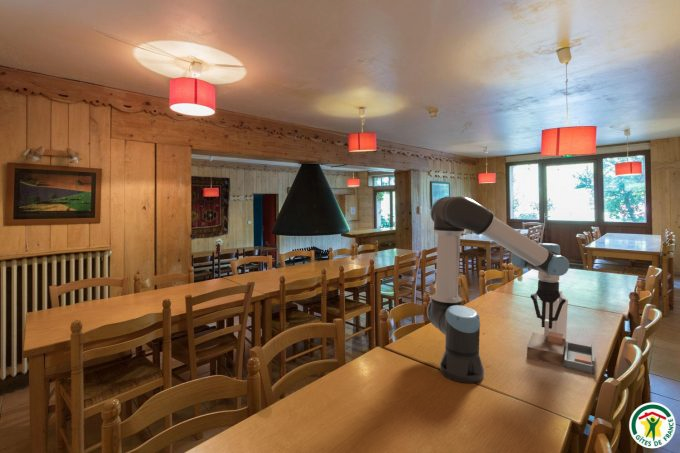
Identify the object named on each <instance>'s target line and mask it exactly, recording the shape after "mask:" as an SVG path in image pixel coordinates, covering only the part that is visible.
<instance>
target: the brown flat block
mask: <svg viewBox="0 0 680 453" xmlns="http://www.w3.org/2000/svg"><path fill="white" fill-rule="evenodd" d="M565 351H566V341H565V339H564V338H563V342H562V344H560V343H555V342H550V341H548V337H547V336H544V333H543V334H542V333H538V332H532V334H531V335H530V339H529V341H528V344H527V346H526V359H532V360H535V361H540V362H544V363H549V364H552V365H557V366H562V367H564V359H565Z"/></svg>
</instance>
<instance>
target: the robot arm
mask: <svg viewBox="0 0 680 453" xmlns="http://www.w3.org/2000/svg"><path fill="white" fill-rule="evenodd" d="M429 214H430V215H429V216H430V218H431V220H432V222H433V230H434V232H435V233H436V234H437V242H436V244H437V246H436V269H435V270H436V271H435V272H436V274H435V292H434V293H433V294H432V295H431V301H430V302H429V303H428V305H427V308H426V315H427V318H428V320H429V321H430V323H431V324H432V325H433V326H434V327H435V328H436V329H437V330H439V331H440V332H441V333H442V334H443V335H445V346H444V348H445V349H444V352H443V355H442V358H441V360H440V365H439V371H440V373H441V374H442V375H443V376H444V377H445V378H447V379H450V380H452V381H455V382H458V383H463V384H464V383H466V384H473V383H474V384H475V383H479V382H480V381H483V379H484V376H485V368H484V366H483V362H482V360H481V357H480V356H481V355H480V334H481V333H480V330H481V329H480V328H481V320H480V319H481V318H480V315H479V313H478V312H477V311H476V310H475V309H473V308H471V307H467V306H466V305H465V306H464V305H462V298H461V297H460V295H459V294H458V292H459V275H460V274H459V272H460V248H461V235H462V234H463V233H465V230H466V231H469V232H472V233H473V234H475V235H479V236H480V235H482V236H484V237H485V238H488V239H489V240H490V241H492V242H494V243H495V244H498V245H499V246H501V247H502V248H504V249H506V250H507V251H509V252H511V255H510V261H511V264H512V265H513V267H515V268H518V269H519V268H520V269H524V268H525V269H526V268H527V269H531V270H534V271H538V273H537V274H538V275H537V278H538V280H537V290H536V292H535V293H532V294H531V295H530V299H531V300H532V302H533V306H534V311H535V315H536V318H537V319H540V320H541V324H540V325H541V328H544V332H543V335H544V336H547V337H548V334H549V328H550V329H552V321H557V320H558V317H559V314H560V311H561V308H562V305H563V304H564V303H565V302H566V299H567V298H566V297H565V298H566V299H565V298H563V297H561V296H560V293H559V291H560V282H559V281H560V277H561V276H564V275H565V274H567V272H568V271H569V269H570V261H569V259H568V258H567V257H565V256H563V255H561V246H560V245H559V244H557V243H548V242H546V243H545V242H543V243H540V244H538V243H537V242H535V241H534V240H532V239H530V238H529V237H528V236H526V235H525V234H523V233H522V232H519V231H518V230H516V229H515V228H513V227H512V226H509V225H508V224H507V223H505V222H504V221H502V220H501V219H499V218H497V217H496V216H495V214H494V212H493V211H491V210H490V209H488V208H486V207H485V206H484V205H482V204H480V203H479V202H477V201H475V200H474V199H473V198H469V197H466V196H461V195H459V196H443V197H440V198H439V199H437V200H435V201H434V202H433V203H432V206H431V207H430V213H429ZM538 298H539V300H540V301H541V311H540V307H539V302H538ZM558 298H559V302H560V303H559V305H558V308H557V311H556V314H555V317H553V303H554V302H555V301H556V300H557V299H558ZM546 302H548V303H549V320H548V319H545V316H546Z"/></svg>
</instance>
